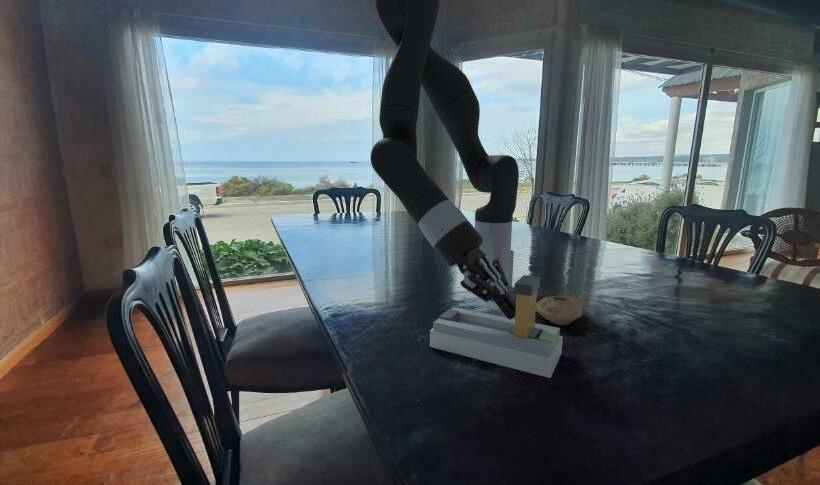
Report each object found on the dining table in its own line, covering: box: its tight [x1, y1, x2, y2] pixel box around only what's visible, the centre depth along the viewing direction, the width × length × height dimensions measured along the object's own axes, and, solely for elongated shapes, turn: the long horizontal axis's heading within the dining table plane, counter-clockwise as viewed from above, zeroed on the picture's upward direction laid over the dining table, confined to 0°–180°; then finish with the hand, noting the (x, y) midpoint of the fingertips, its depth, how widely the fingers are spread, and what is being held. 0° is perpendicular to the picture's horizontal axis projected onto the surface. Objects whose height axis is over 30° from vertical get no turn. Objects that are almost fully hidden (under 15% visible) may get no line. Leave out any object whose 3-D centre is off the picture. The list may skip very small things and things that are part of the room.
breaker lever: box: [509, 274, 541, 340], centre depth 62 cm, size 4×5×10 cm
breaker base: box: [429, 306, 564, 379], centre depth 66 cm, size 20×9×5 cm, turn 60°
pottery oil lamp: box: [536, 294, 586, 326], centre depth 79 cm, size 9×12×7 cm
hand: (515, 315), depth 63 cm, fingers closed
